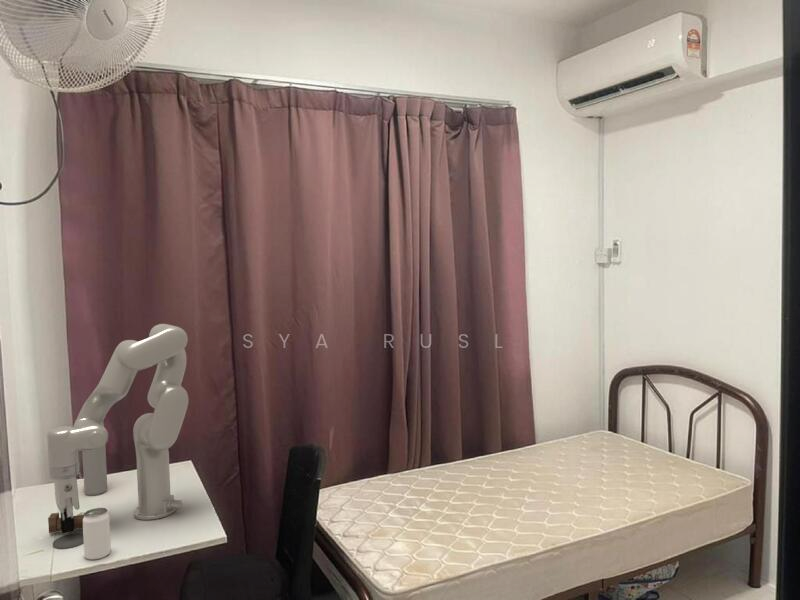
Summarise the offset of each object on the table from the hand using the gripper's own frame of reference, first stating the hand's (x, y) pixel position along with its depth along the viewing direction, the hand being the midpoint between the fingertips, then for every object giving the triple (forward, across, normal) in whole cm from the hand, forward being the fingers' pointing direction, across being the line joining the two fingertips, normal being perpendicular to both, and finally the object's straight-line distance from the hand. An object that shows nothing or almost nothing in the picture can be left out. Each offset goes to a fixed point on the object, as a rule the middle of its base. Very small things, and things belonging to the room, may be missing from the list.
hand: (67, 531), depth 177 cm
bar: (0, +3, -1) cm, 3 cm away
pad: (+1, -4, 0) cm, 5 cm away
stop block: (+1, +6, -6) cm, 9 cm away
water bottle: (+2, +33, -13) cm, 35 cm away
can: (+2, -18, -4) cm, 19 cm away
